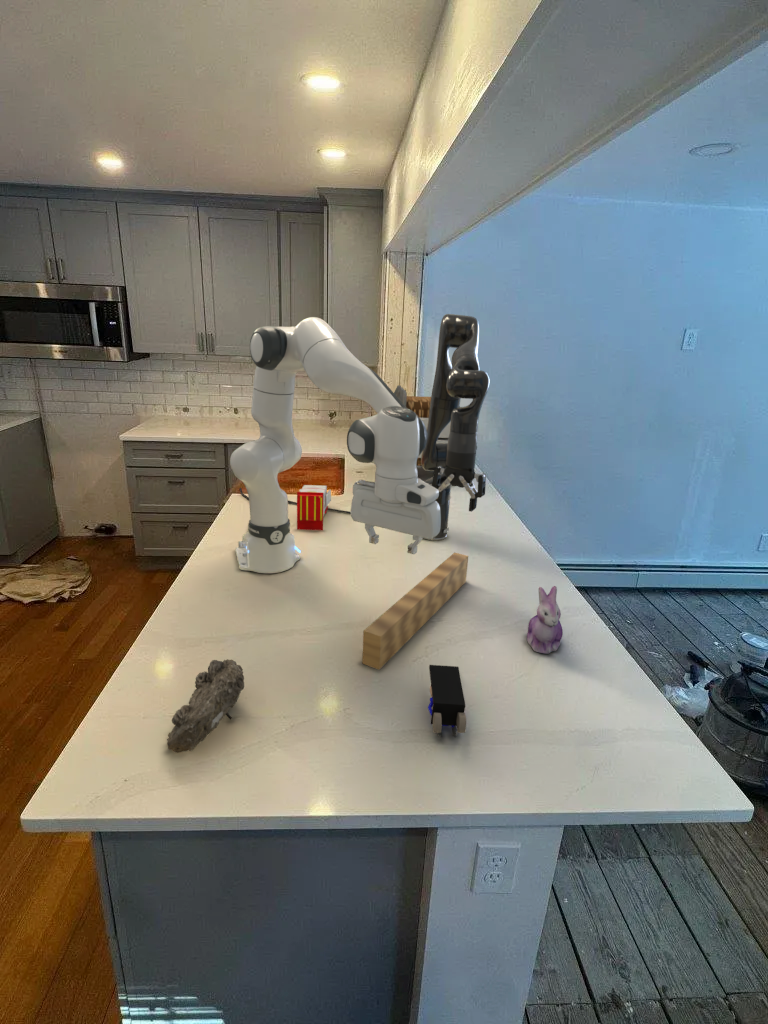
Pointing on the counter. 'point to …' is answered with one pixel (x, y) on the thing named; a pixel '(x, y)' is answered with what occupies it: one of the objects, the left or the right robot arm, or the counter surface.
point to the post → (412, 611)
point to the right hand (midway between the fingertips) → (456, 507)
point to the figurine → (545, 624)
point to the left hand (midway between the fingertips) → (392, 547)
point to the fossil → (206, 705)
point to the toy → (312, 507)
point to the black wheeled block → (446, 699)
